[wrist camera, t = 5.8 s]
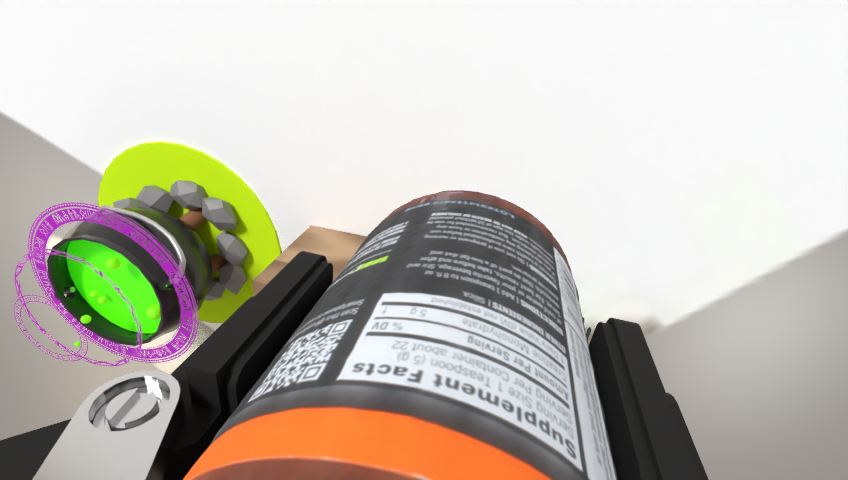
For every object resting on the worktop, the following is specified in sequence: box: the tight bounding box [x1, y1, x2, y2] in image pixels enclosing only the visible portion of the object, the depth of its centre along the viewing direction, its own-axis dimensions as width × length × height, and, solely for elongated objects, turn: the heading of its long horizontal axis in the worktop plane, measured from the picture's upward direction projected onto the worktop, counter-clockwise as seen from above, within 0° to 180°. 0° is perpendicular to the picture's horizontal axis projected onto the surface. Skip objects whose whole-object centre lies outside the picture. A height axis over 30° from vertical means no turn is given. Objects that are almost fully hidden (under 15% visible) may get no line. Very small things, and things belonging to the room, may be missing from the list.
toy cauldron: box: [14, 142, 281, 366], centre depth 28 cm, size 15×15×11 cm
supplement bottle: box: [183, 191, 618, 480], centre depth 7 cm, size 6×6×11 cm
